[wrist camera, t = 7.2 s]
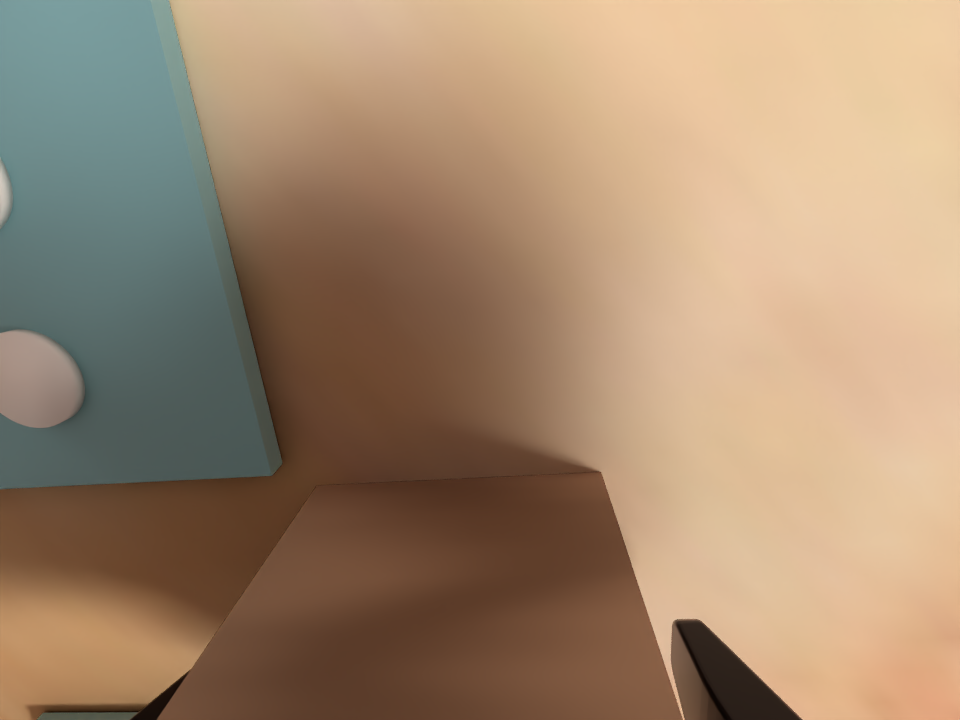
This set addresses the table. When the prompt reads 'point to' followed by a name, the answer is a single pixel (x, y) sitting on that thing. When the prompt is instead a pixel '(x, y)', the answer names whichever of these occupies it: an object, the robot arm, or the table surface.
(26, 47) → the pad two
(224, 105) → the table surface
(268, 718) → the brown cube
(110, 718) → the pad three
